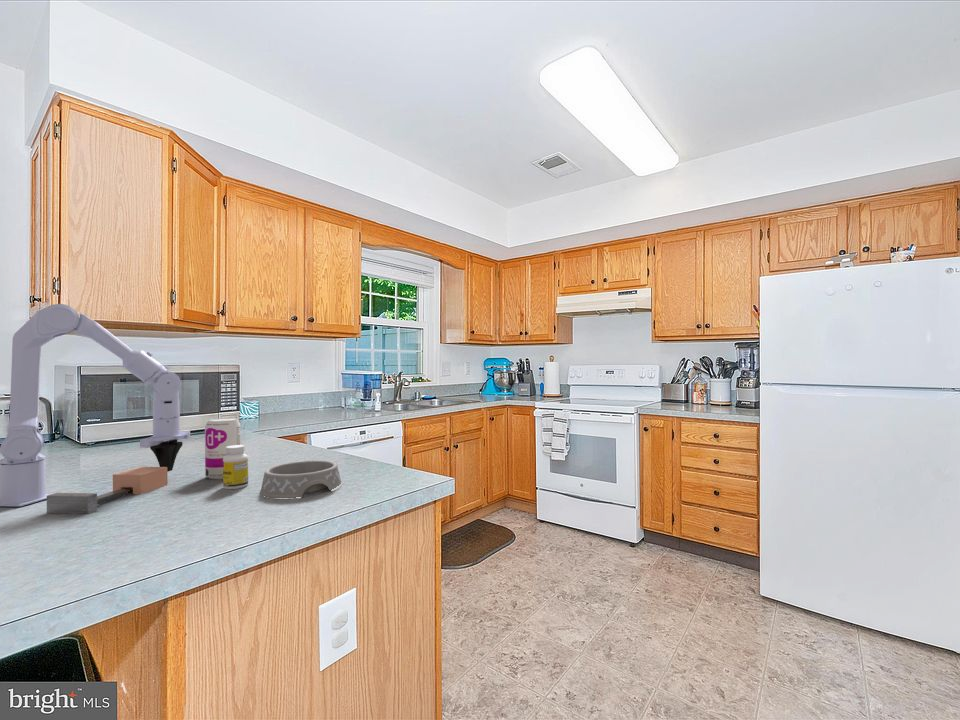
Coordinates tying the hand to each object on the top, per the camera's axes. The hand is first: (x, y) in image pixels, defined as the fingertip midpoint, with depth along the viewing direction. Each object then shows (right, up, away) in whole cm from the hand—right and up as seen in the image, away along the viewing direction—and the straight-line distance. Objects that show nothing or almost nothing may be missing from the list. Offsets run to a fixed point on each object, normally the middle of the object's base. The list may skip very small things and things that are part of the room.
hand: (166, 470), depth 118 cm
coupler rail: (-2, -2, -19) cm, 20 cm away
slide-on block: (-1, -3, -8) cm, 8 cm away
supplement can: (+12, -3, +4) cm, 13 cm away
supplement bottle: (+21, -2, -7) cm, 23 cm away
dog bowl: (+38, -2, -9) cm, 39 cm away
